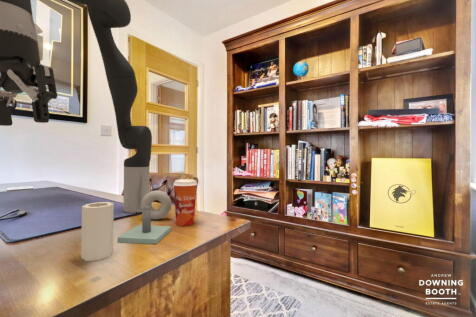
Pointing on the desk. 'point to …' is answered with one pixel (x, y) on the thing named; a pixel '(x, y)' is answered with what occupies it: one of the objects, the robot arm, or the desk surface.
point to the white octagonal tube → (97, 231)
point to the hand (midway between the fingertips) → (23, 124)
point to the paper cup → (185, 201)
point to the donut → (160, 197)
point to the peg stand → (145, 231)
